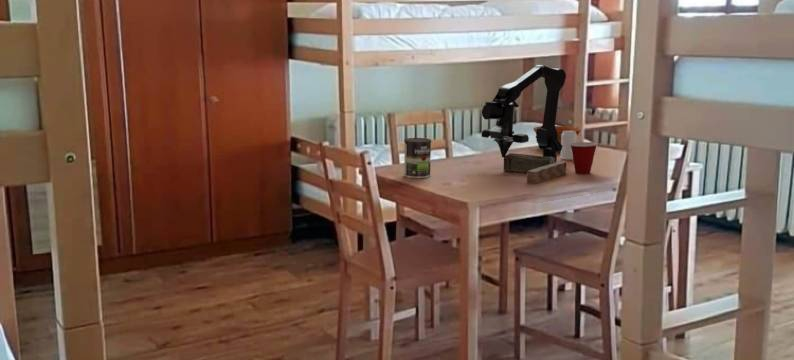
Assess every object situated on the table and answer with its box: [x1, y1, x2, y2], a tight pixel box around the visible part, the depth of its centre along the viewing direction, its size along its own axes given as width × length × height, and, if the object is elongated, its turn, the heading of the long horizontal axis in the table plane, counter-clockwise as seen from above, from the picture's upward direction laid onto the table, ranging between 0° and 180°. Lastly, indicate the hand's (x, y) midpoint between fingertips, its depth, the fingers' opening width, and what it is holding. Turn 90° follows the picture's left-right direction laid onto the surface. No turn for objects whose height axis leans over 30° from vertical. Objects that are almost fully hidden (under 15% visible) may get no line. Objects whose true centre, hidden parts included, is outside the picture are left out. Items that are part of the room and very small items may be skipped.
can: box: [560, 130, 578, 161], centre depth 350 cm, size 6×6×12 cm
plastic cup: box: [570, 141, 599, 175], centre depth 321 cm, size 11×11×12 cm
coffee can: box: [403, 137, 432, 179], centre depth 313 cm, size 10×10×14 cm
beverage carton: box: [503, 152, 555, 174], centre depth 323 cm, size 8×19×7 cm, turn 64°
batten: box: [526, 160, 567, 185], centre depth 311 cm, size 26×3×4 cm, turn 142°
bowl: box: [533, 125, 581, 143], centre depth 373 cm, size 21×21×10 cm
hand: (503, 157), depth 325 cm, fingers closed
